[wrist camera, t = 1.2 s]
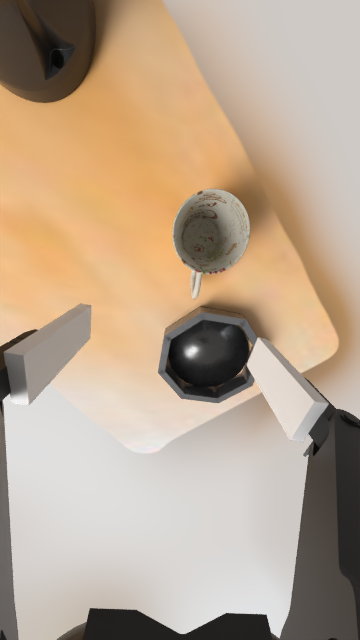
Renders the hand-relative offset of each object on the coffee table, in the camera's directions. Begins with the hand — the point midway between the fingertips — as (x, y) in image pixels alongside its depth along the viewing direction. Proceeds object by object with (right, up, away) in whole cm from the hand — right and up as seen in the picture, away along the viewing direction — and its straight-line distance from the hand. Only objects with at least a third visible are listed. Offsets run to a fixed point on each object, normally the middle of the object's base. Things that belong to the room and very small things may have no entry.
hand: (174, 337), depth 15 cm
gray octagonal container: (+6, -5, +22) cm, 24 cm away
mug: (+3, +12, +15) cm, 20 cm away
